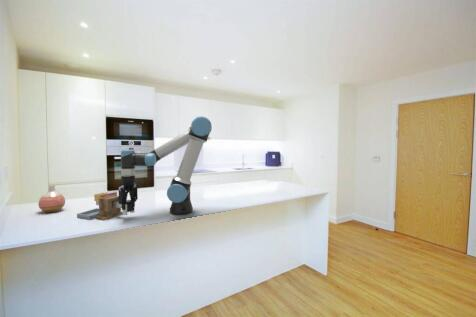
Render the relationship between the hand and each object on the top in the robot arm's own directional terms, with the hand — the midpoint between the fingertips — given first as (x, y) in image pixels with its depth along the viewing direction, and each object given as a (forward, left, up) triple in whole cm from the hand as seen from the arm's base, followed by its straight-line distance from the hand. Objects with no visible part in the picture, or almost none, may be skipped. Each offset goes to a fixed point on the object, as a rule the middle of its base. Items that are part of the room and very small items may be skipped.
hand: (128, 213), depth 137 cm
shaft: (+11, 0, +2) cm, 11 cm away
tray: (+24, +3, -3) cm, 25 cm away
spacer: (+21, 0, +6) cm, 22 cm away
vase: (+58, +5, -3) cm, 58 cm away
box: (+28, -11, -4) cm, 30 cm away
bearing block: (+14, 0, -3) cm, 15 cm away
